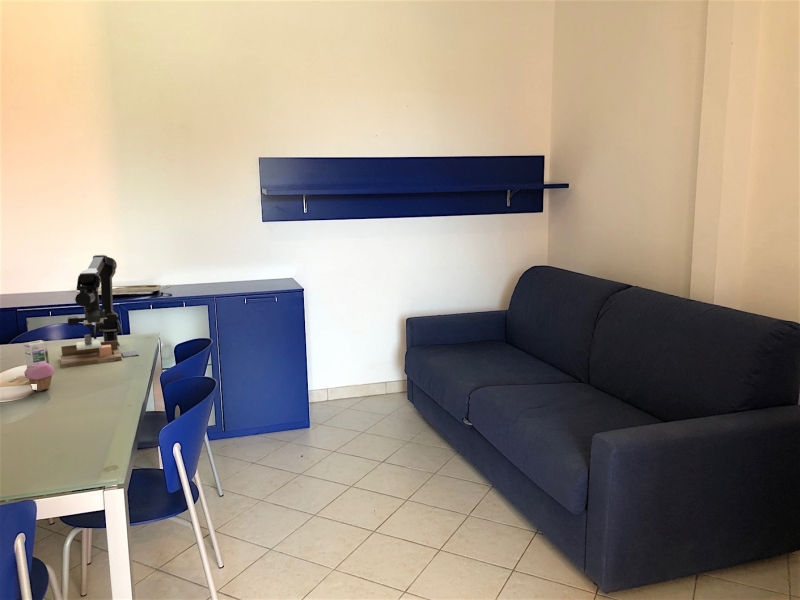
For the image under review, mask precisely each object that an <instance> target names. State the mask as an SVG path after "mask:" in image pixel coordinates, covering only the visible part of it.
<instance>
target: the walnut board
mask: <svg viewBox="0 0 800 600" xmlns="http://www.w3.org/2000/svg"><path fill="white" fill-rule="evenodd" d="M100 343H101V346H102V345H111V350H112V355H109V356H100V354H99V348H93V349H84V350H77V346H76V344H71V345H61V355H60V367H61V368H62V369H63V368H68V367H77V366H85V365H94V364H100V363H109V362H108V361H110V362H116V361H115V360H118V361H123V359H122V358H123V355H121V354H122V353H121V351H120V349H119V348H118V346H117V340H115V341H106V342H104V341H100ZM113 354H114V355H113Z"/></svg>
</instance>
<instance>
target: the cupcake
mask: <svg viewBox="0 0 800 600" xmlns="http://www.w3.org/2000/svg"><path fill="white" fill-rule="evenodd" d="M54 374H55V368H54V367H53V365H51V364H50V363H49V364H48V363H46V362H37V363H33V364H31V365H30V366H29V367H28V368H27V367H26V369H25V371H24V377H25V378H27V379H29V380H28V381H29V384H37V390H36V391H35V392H42V391H44V390H49V389H50V387H51V383H52V378H53V375H54Z"/></svg>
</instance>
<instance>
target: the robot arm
mask: <svg viewBox="0 0 800 600" xmlns="http://www.w3.org/2000/svg"><path fill="white" fill-rule="evenodd" d="M117 265H118V264H117V261H116V260H115V259H114V258H112V257H109V256H107V255H105V254H94V255H92V261H90V264H89V266H88V267H87V269H84V270H82V271H81V272H79V275H78V276H77V284H76V291H79V293H78V294H77V295H75V298H74V300H75V303H76V304H77V305H78V307H83V308H84V309H83V310H84V317H79V316H78V315H75V316H74V315H73V316H68V317H67V325H68V326H77V325H79V323H83V326H84V327H87V328H88V329H89V331H90V334H91V336H92V338H93V339H94V340H97V337H98V334H103V336H102V337H103V342H106V341H115V340H117V345H118V346H120V342H119V339H118V333H121V332H122V325H121V323H120V320H119V314H118V313H117V312H115V311H114V302H113V299H114V297H113V277H114V275H116V271H117V270H116V269H117ZM99 288H100V295H101V297H99ZM100 298H101V306H100ZM93 323H94V327H93Z"/></svg>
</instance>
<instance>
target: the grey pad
mask: <svg viewBox="0 0 800 600" xmlns="http://www.w3.org/2000/svg"><path fill="white" fill-rule="evenodd" d="M121 354H123V355H122V358H129V357H128V356H132V357H136V356H135V355H139V356H140V353H139V352H138V350H130V351H121Z"/></svg>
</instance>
